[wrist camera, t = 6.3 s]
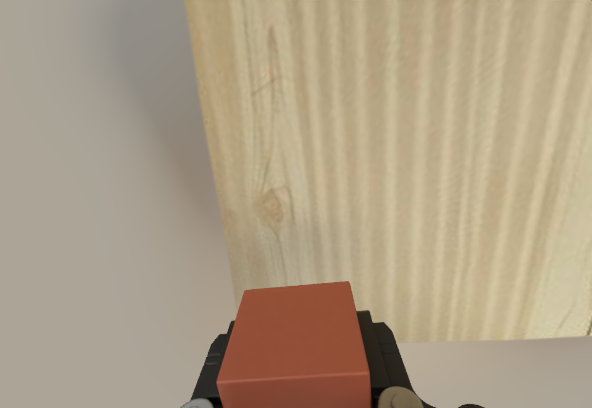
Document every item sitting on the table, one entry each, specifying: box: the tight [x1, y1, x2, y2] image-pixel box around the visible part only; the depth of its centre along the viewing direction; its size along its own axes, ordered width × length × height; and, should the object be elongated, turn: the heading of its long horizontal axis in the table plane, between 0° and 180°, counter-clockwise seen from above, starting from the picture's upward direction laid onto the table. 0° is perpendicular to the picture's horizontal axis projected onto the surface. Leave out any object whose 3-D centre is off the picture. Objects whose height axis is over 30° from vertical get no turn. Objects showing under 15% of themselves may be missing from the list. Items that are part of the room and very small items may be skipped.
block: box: [216, 281, 372, 408], centre depth 11 cm, size 4×4×4 cm
